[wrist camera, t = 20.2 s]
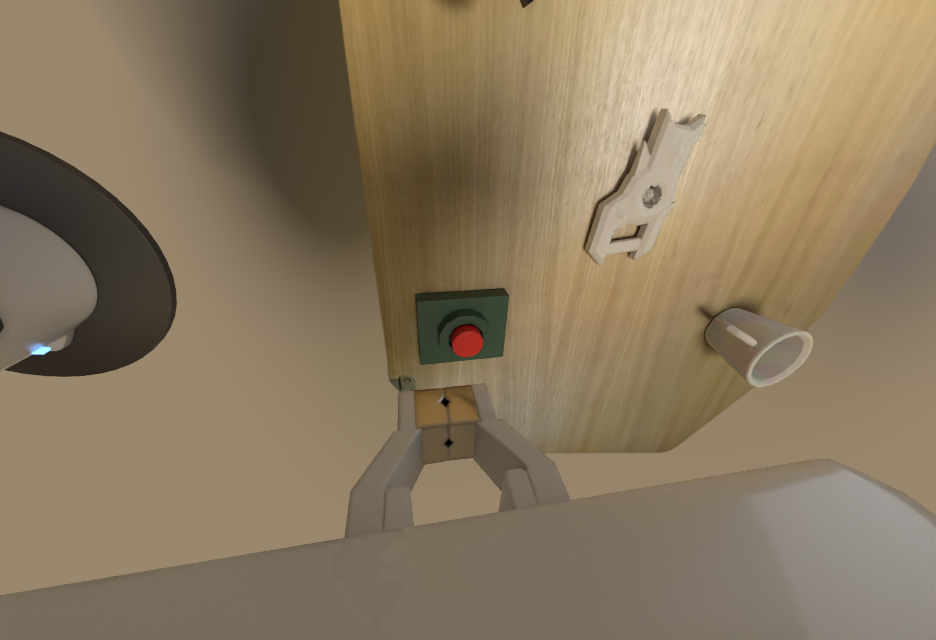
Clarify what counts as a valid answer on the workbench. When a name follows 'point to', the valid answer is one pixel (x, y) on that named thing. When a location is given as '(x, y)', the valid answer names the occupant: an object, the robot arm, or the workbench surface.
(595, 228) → the beige holed clip
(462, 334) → the button
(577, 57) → the workbench surface
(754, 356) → the mug
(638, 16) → the workbench surface
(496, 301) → the button box
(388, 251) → the workbench surface
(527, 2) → the black lever stand
